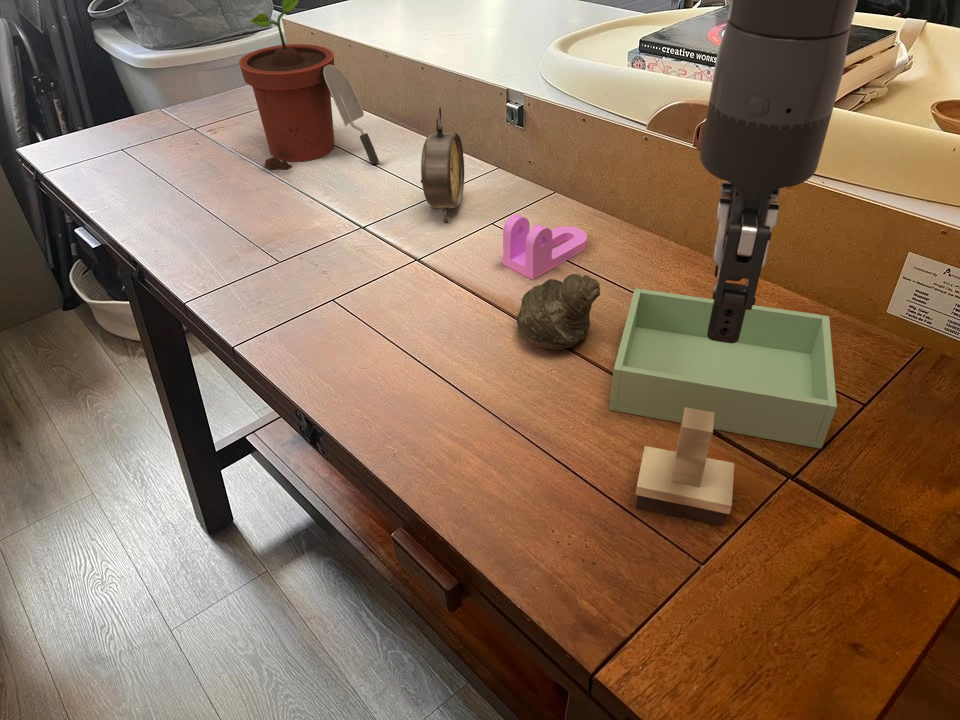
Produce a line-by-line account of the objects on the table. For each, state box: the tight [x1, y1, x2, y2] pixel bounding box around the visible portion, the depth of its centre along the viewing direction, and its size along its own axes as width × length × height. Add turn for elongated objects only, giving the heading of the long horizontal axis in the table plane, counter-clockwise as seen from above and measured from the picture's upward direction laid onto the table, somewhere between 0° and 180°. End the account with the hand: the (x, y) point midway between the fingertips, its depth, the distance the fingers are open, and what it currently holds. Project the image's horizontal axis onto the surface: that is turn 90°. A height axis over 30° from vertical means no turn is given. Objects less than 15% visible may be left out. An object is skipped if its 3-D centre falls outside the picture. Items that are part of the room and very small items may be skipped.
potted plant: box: [238, 0, 380, 171], centre depth 128 cm, size 18×22×25 cm
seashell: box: [516, 273, 601, 351], centre depth 90 cm, size 11×12×10 cm
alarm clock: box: [420, 105, 465, 224], centre depth 113 cm, size 11×5×16 cm, turn 171°
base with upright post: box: [635, 407, 735, 527], centre depth 69 cm, size 8×5×10 cm, turn 73°
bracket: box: [502, 213, 588, 281], centre depth 105 cm, size 13×6×7 cm, turn 134°
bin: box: [608, 287, 838, 450], centre depth 83 cm, size 22×16×6 cm
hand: (725, 306), depth 58 cm, fingers open, 8 cm apart
